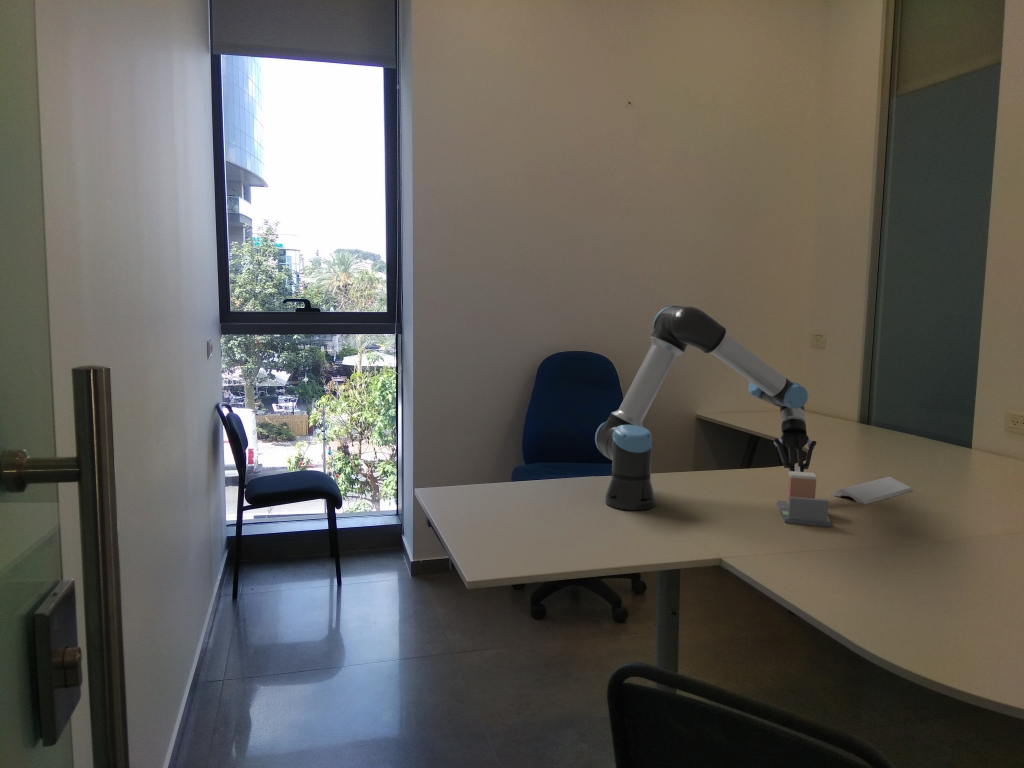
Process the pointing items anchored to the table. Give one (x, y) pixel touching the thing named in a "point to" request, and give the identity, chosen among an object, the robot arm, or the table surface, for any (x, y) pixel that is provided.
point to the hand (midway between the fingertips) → (798, 486)
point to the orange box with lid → (801, 485)
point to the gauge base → (805, 511)
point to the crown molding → (874, 490)
